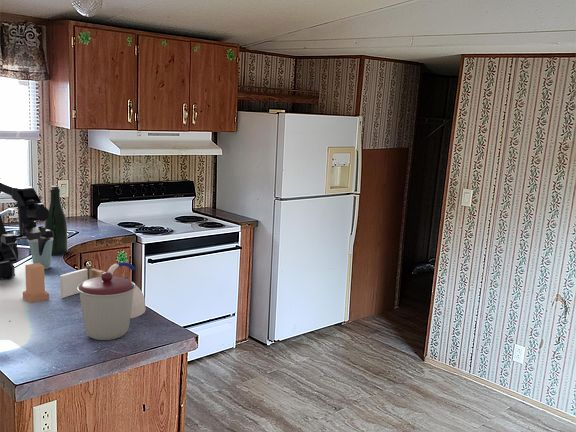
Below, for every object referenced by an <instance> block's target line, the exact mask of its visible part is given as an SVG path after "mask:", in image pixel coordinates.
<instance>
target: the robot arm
mask: <svg viewBox="0 0 576 432" xmlns="http://www.w3.org/2000/svg"><path fill="white" fill-rule="evenodd" d="M1 193H4V194H7V195H8V196H11V199H12V200H13V201H15V202H16V203H15V204H14V206H13V207H14V208H17V216H18V217H17V218H18V220H17V225H18V232H17V233H18V234H16V235H15V234H13V233H7V231H6V226H5V225H4V221H3V218H2V215H1V214H0V280H10V279H12V278H13V277H14V276H16V272H15V270H16V269H15V265H14V263H17V260H19V249H18V248H19V247H18V242H17V241H18V240H26V239H27V241H28V240H34V239H38V247H39V255H40V256H41V255H42V252H43V249H44V246H45V244H46V242H47V241H48V240H50V239H51V238H52V237H54V234H53V231H52V230H48V229H45V225H39V226H37V221H39V222H45V220H47V218H48V217H49V211H48V209H49V208H47V207H46V206H45V203H44V202H43V203H42V201H41V199H40V197H39V195H38V194H37V191H36V190H35V188H34V187H33V186H28V185H18V184H15V183H12V182H10V181H8V180H4V179H3V178H0V194H1Z"/></svg>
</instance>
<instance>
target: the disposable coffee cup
mask: <svg viewBox="0 0 576 432" xmlns="http://www.w3.org/2000/svg"><path fill="white" fill-rule="evenodd" d="M53 240H54V239H53V237H52V238H51V239H50V240H48V241H47V242H46V244H45V246H44V249H43V252H42V255H41V256H40V255H39V247H38V239H34V240H28V239H27V242H28V245H29V249H30V253H31V254H30V255H31V259H32V264H35V263H40V264H42V265H43V266H44V270H47V269H49V268H50V267H51V262H52V261H51V260H52V255H51V254H52V244H53Z"/></svg>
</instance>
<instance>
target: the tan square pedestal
mask: <svg viewBox="0 0 576 432" xmlns="http://www.w3.org/2000/svg"><path fill="white" fill-rule="evenodd" d="M24 268H25V269H24V270H25V290H24V291H22V299H23V300H25V301H26V302H28V303H29V304H32V303H36V302H37V303H39V302H42V301H47V300H49V299H50V293H49V292H48V291H46V287H45V285H46V284H45V278H46V276H45V269H44V266H43V265H42V264H40V263H35V264H33V263H31V264H30V263H28V264H25V267H24Z"/></svg>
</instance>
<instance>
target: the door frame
mask: <svg viewBox="0 0 576 432" xmlns="http://www.w3.org/2000/svg"><path fill="white" fill-rule="evenodd" d="M85 269H88V279H91V278H96V277H101V275H102V274H103V273H104V272H105V271H104V270H101V269H97V268H94V267H93V268H92V267H91V264H89V265H86V267H85Z"/></svg>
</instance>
